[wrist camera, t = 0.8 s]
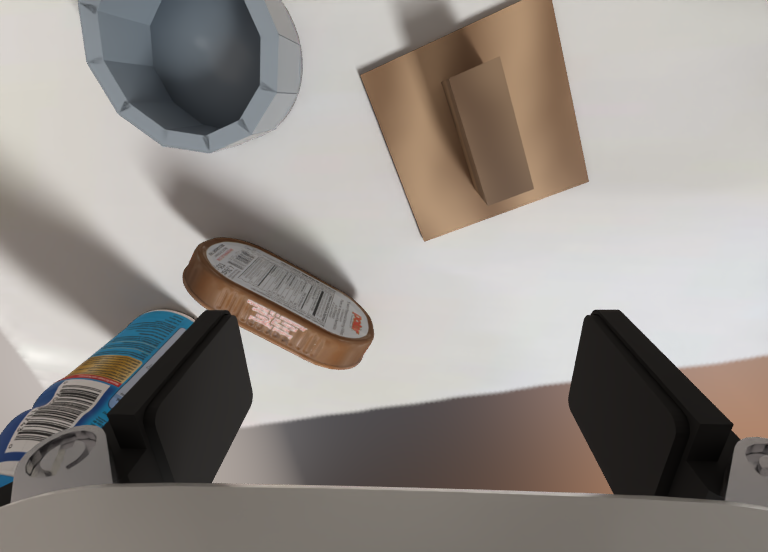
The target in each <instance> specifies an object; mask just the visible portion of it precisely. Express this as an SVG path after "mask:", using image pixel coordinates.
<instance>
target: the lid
mask: <svg viewBox="0 0 768 552" xmlns="http://www.w3.org/2000/svg"><path fill="white" fill-rule="evenodd" d="M360 76H361V78H362V81H363V83H364V86H365V89H366V91H367V94H368V96H369V99H370V102H371V104H372V107H373V109H374V112H375V115H376V117H377V120H378V122H379V125H380V128H381V130H382V133H383V135H384V138H385V141H386V143H387V146H388V148H389V151H390V154H391V156H392V159H393V162H394V164H395V167H396V169H397V172H398V175H399V177H400V180H401V182H402V185H403V188H404V190H405V193H406V195H407V198H408V201H409V203H410V206H411V208H412V211H413V214H414V216H415V219H416V221H417V224H418V227H419V229H420V232H421V234H422V237H423V240H424V242H425V241H428V240H430V239H433V238H436V237H439V236H441V235H444V234H447V233H450V232H452V231H455V230H458V229H460V228H463V227H466V226H469V225H471V224H474V223H477V222H480V221H482V220H485V219H488V218H491V217H493V216H496V215H499V214H502V213H504V212H507V211H510V210H513V209H515V208H518V207H521V206H524V205H526V204H529V203H532V202H534V201H537V200H540V199H543V198H545V197H548V196H551V195H554V194H556V193H559V192H562V191H565V190H567V189H570V188H573V187H576V186H578V185H581V184H584V183H587V182H589V180H588V175H587V170H586V165H585V160H584V155H583V151H582V146H581V141H580V136H579V131H578V126H577V121H576V116H575V111H574V106H573V101H572V97H571V92H570V87H569V82H568V77H567V72H566V67H565V62H564V57H563V52H562V47H561V42H560V38H559V33H558V28H557V23H556V18H555V13H554V8H553V3H552V0H521V1H519V2H517V3H515V4H513V5H511V6H509V7H506V8H504V9H502V10H500V11H498V12H496V13H493V14H491V15H489V16H487V17H485V18H483V19H480V20H478V21H476V22H474V23H472V24H470V25H468V26H465V27H463V28H461V29H459V30H457V31H455V32H452V33H450V34H448V35H446V36H444V37H442V38H439V39H437V40H435V41H433V42H431V43H429V44H427V45H424V46H422V47H420V48H418V49H416V50H414V51H411V52H409V53H407V54H405V55H403V56H401V57H398V58H396V59H394V60H392V61H390V62H388V63H386V64H383V65H381V66H379V67H377V68H375V69H373V70H370V71H368V72H366V73H364V74H362V75H360Z"/></svg>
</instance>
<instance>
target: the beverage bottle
mask: <svg viewBox="0 0 768 552" xmlns="http://www.w3.org/2000/svg"><path fill="white" fill-rule="evenodd" d="M194 322H195V320H194V319H193V318H191V317H189V316H187V315H185V314H183V313H180V312H177V311H173V310H164V309H162V310H153V311H149V312H146V313H144V314H142V315H140V316H139V317H137V318H136V319H135V320H134V321H133V322H131V323H130V324H129V325H128V326H127V328H125V329H124V330H123V331H122V332H120V333H119V334H118V335H117V336H115V337H114V338H113V339H112V340H110V341H109V342H108V343H107V344H106V345H104V346H103V347H102V348H101V349H99V350H98V351H97V352H96V353H94V354H93V355H92V356H91V357H90V358H88V359H87V360H86V361H85V362H83V363H82V364H81V365H80V366H78V367H77V368H76V369H75V370H73V371H72V372H71V373H70V374H68V375H67V376H66V377H65V378H63V379H61V380H59V381H57V382H55V383H54V384H52V385H51V386H50V387H49V388H48V389H46V390H45V391H44V392H43V393H42V394H41V395H40V396H39V398H38V399H37V400H36V402H35V403H34V405H33V408H32V409H30V410H27V411H25V412H23V413H21V414H20V415H18V416H17V417H15V418H14V419H13V420H12V421H11V422H10V423H9V424H8V425H7V426H6V428H5V429H4V430H3V432H2V433H1V435H0V487H2V486H4V485H7V484H9V483H11V482H13V478H14V472H15V469H16V466H17V464H18V462H19V461H20V460H21V459H22V457H23V456H24V455H25V454H26V453H27V452H28V451H29V450H30V449H32V448H33V447H34V446H35V445H36V444H38V443H40V442H41V441H43V440H44V439H46V438H47V437H49V436H51V435H54V434H56V433H58V432H60V431H62V430H66V429H69V428H72V427H75V426H82V425H94V426H98V427H100V428H102V427H103V426H104V425H105V424H106V423H107V422H108V421H109V419H108V417H107V413H108V412H109V411H110V410H111V409H112V408H113V407H114V406H115V405H116V404H117V403H118V402H119V401H120V399H121V398H122V397H123V396H124V395H125V394H126V393H127V392H128V391H129V390H130V389H131V388H132V387H133V386H134V385H135V384H136V383H137V382H138V381H139V379H140V378H141V377H142V376H143V375H144V374H145V373H146V372H147V371H148V370H149V369H150V368H151V367H152V366H153V365H154V364H155V363H156V362H157V361H158V359H159V358H160V357H161V356H162V355H163V354H164V353H165V352H166V351H167V350H168V349H169V348H170V347H171V346H172V345H173V344H174V343H175V342H176V340H177V339H178V338H179V337H180V336H181V335H182V334H183V333H184V332H185V331H186V330H187V329H188V328H189V327H190V326H191V325H192V324H193V323H194Z"/></svg>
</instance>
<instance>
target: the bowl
mask: <svg viewBox="0 0 768 552" xmlns="http://www.w3.org/2000/svg"><path fill="white" fill-rule="evenodd" d="M78 7H79V14H80V20H81V27H82V34H83V41H84V48H85V55H86V62H88V63H87V64H88V66H89V67H90V69H91V71H92V72H93V74H94V76H95V77H96V79H97V80H98V82H99V84H100V85H101V87H102V89H103V90H104V92H105V94H106V95H107V97H108V98H109V100H110V102H111V103H112V105H113V107H114V108H115V110H116V112H117V113H118V114H119V115H120V116H121V117H123V118H124V119H126V120H127V121H128V122H130V123H131V124H133V125H134V126H135V127H137V128H138V129H140V130H141V131H142V132H144V133H145V134H146V135H148V136H149V137H151V138H152V139H153V140H155V141H156V142H158V143H159V144H160V145H162V146H165V147H172V148H178V149H185V150H191V151H198V152H204V153H213V152H217V151H220V150H224V149H227V148H231V147H234V146H238V145H241V144H243V143H246V142H248V141H250V140H252V139H255V138H258V137H260V136H263V135H265V134H267V133H268V132H270V131H272V130H275V129H276V128H277V126H278V125H279V124H280V123H281V122H282V121H283V120H284V119H285V118H286V116H287V115H288V114H289V112H290V111H291V109H292V107H293V105H294V103H295V101H296V99H297V96H298V93H299V89H300V85H301V80H302V71H303V68H302V51H301V45H300V41H299V37H298V33H297V31H296V28H295V25H294V23H293V20H292V18H291V16H290V14H289V12H288V11H287V9H286V7H285V6H284V4H283V3H282V0H78Z"/></svg>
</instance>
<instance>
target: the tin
mask: <svg viewBox="0 0 768 552" xmlns="http://www.w3.org/2000/svg"><path fill="white" fill-rule="evenodd" d="M183 283H184V286H185V288H186V289H187V291H188V292H189V294H190V295H191V296H192V297H193V298H194V299H195V300H196V301H197V302H198V303H199V304H200V305H202V306H203V307H204V308H206V309H207V310H228V311H229V312H230V313H231V315H235V316H236V318H237V320H238V325H239V326H240V327H242V328H243V329H245V330H247V331H250V332H252V333H253V334H255V335H257V336H259V337H262V338H264V339H265V340H267V341H269V342H271V343H273V344H275V345H277V346H279V347H281V348H283V349H285V350H287V351H289V352H291V353H293V354H295V355H297V356H299V357H300V358H302V359H304V360H306V361H309V362H311V363H313V364H315V365H318V366H321V367H324V368H328V369H336V370H345V369H350V368H353V367H355V366H356V365H358V364H359V363H360V361H361V360H362V357H363V355H364V353H365V352H366V350H367V349H368V347H369V346H370V344H371V342H372V340H373V338H374V329H373V324H372V321H371V319H370V317H369V315H368V314H367V313H366V311H365V310H364V309H363V308H362V307H361V306H360V305H359V304H358V303H357V302H356V301H355V300H353V299H352V298H351V297H350V296H348V295H347V294H345V293H343V292H342V291H340V290H338V289H336V288H335V287H333V286H331V285H329V284H328V283H326V282H324V281H322V280H320V279H319V278H317V277H315V276H313V275H311V274H310V273H308V272H306V271H304V270H302V269H301V268H299V267H297V266H295V265H293V264H291V263H290V262H288V261H286V260H284V259H282V258H280V257H278V256H277V255H275V254H273V253H271V252H269V251H267V250H265V249H263V248H261V247H259V246H257V245H254V244H252V243H249V242H246V241H242V240H238V239H233V238H224V237H220V238H214V239H211V240H208V241H205V242H203V243H201V244H199V245H198V246H197V248H196V249H195V251H194V253H193V255H192V257H191V260H190V262H189V264H188V266H187V267H186V268H185V269H184V271H183Z"/></svg>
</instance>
